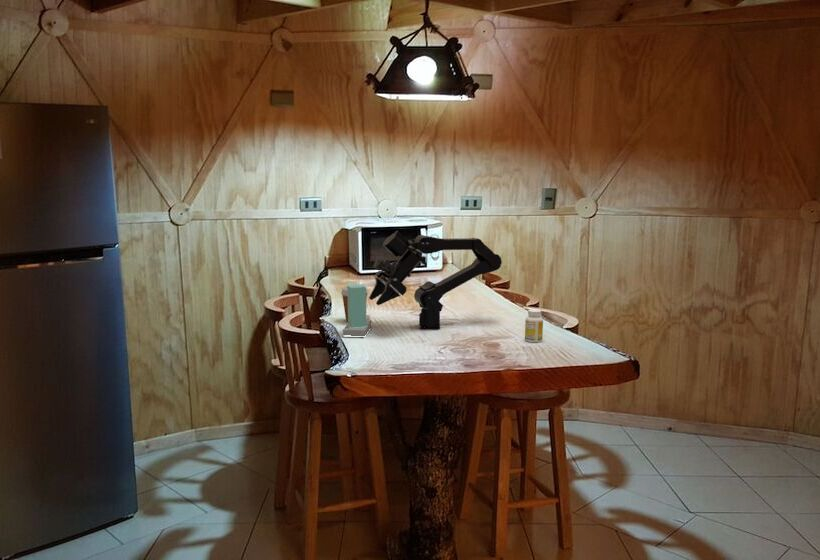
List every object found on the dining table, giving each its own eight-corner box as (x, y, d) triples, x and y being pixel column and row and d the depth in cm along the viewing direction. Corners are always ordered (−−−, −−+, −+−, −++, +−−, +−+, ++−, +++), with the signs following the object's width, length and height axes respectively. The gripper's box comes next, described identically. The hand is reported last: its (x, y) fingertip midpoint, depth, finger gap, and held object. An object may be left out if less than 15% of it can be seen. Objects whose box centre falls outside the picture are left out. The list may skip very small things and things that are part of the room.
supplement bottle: (527, 343, 191) (528, 312, 190) (522, 338, 196) (523, 308, 195) (544, 342, 192) (545, 311, 190) (539, 338, 197) (540, 308, 195)
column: (362, 323, 207) (362, 284, 205) (366, 326, 202) (365, 287, 200) (348, 324, 205) (347, 285, 203) (351, 327, 200) (350, 287, 198)
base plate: (372, 327, 211) (372, 314, 211) (365, 338, 198) (365, 324, 197) (350, 327, 212) (349, 314, 211) (342, 337, 198) (341, 323, 198)
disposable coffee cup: (344, 325, 214) (343, 291, 212) (339, 319, 223) (338, 286, 221) (371, 324, 217) (370, 290, 215) (365, 318, 226) (365, 285, 224)
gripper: (380, 247, 212) (349, 281, 210) (395, 253, 194) (362, 290, 193) (402, 268, 215) (372, 302, 214) (420, 276, 198) (387, 313, 196)
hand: (373, 301), depth 204 cm, fingers open, 9 cm apart
